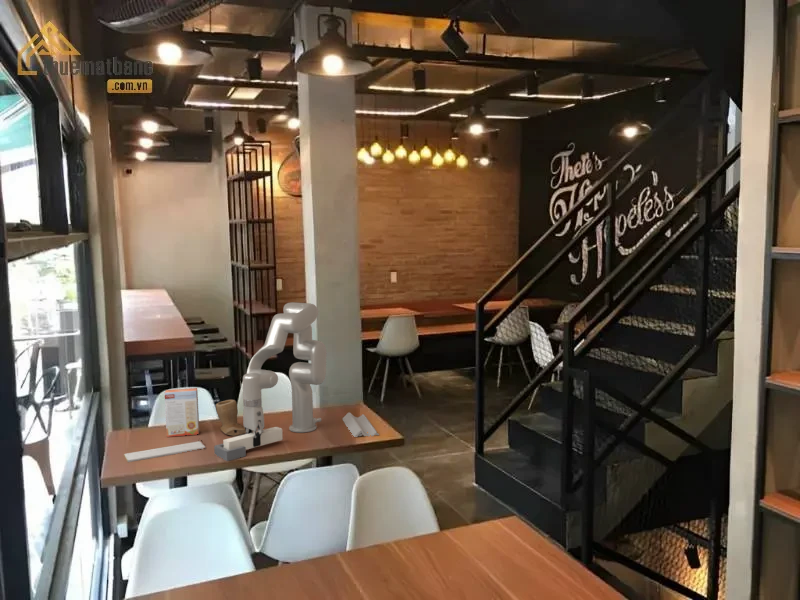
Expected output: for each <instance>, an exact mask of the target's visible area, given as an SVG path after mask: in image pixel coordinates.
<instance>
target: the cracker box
mask: <svg viewBox="0 0 800 600" xmlns="http://www.w3.org/2000/svg"><path fill="white" fill-rule="evenodd" d="M198 393H199V392H198V388H197V387H193V388H192V387H191V388H177V389H176V388H175V389H166V390H165V392H164V408H165V410H164V411H165V413H164V414H165V428H166V429H165V430H166V431H165V432H166V437H167V438H172V437H184V436H185V435H187V436H196V435H197V434H198V435H199V433H200V416H199V414H200V413H199V399H198V398H199V396H198V395H199V394H198ZM198 435H197V436H198Z"/></svg>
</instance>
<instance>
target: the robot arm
mask: <svg viewBox="0 0 800 600" xmlns="http://www.w3.org/2000/svg"><path fill="white" fill-rule="evenodd" d="M318 315H319V309H318V307H317V306H316V305H315V304H314V303H308V302H292V301H291V302H287V303H285V304H284V305H283V313H277V314H275V315H274V316H273V317H272V320H271V322H270V326H269V328H268V332H267V335H266V338H265V341H264V344H263V345H262V346H261V348H259V349H258V350H257V351H256V353H255V354H254V355H253V356H252V358H251V359H250V361H249V363H248V367H247V369H246V373H245V374H243V376H242V396H243V397H242V398H243V403H242V404H243V405H242V406H243V410H242V411H243V413H242V420H243V421H242V423H243V424H242V426H243V427H244V428H245V430H246V432H245V434H249V433H254V437H253V446H254V448H257V447H256V446H258V447H261V446H262V445H261V441H260V437H261V434H262V433H263V430H265V415H264V411H263V404H262V403H263V401H262V390H265V389H271V388H274V387H275V386H276V385H277V384H278V381H279V376H278V374H277V373H276V372H275V371H272V370H269V369H268V370H266V369H262V366H263V365H264V363H265V362H266V361H267V360H269V358H271V357H273V356H276V355H278V354H280V353H282V352H283V351H284V349H285V345H286V343H287V338H288V336H289V335H288V334H293V346H292V347H293V349H292V351H293V356H294V358H295V359H298V360H304V361H310V362H303V361H302V362H301V361H298V362H294V363H292V364H291V366H290V367H289V371H288V377H289V380H290V385H291V408H292V409H291V411H292V418H291V419H292V424H290V425H289V428H288V429H289V431H290V432H293V433H300V434H301V433H310V432H313V431H316V430H317V423H320V422H322V418H321V417H317V418H316V417H314V412H313V411H314V409H313V407H314V406H313V405H314V404H313V401H314V400H313V390H312V386H311V385H314V386H315V385H316V386H317V385H321V384H322V383H324V381H325V379H326V372H327V347H326V345H325V344H324V342H323V341H321V340H316V339H315V340H314V339H313V327H312V324H313V323H315V321H316V320H317V318H318ZM257 431H258V432H257ZM256 432H257V433H256ZM260 445H261V446H260Z"/></svg>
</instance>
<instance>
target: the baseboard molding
mask: <svg viewBox="0 0 800 600" xmlns="http://www.w3.org/2000/svg"><path fill="white" fill-rule="evenodd" d="M203 448H205V449H206V444H204V443H203V439H202V440H201V439H200V440H198V441H192V442H186V443H181V444H176V445H175V444H174V445H171V446H164V447H158V448H152V449H147V450H140V451H133V452H128V453H127V452H126V453H124V454H123V457H124V458H125V460H126V462H127V463H132V462H136V461H138V462H139V461H142V460H149V459H153V458H160V457H165V456H167V457H168V456H171V455H172V456H173V455H177V454H178V453H179V454H183V453H182V452H185V453H188V452H187V451H190V452H193V451H192V450H196V451H198V450H197V449H202V450H204V449H203Z"/></svg>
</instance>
